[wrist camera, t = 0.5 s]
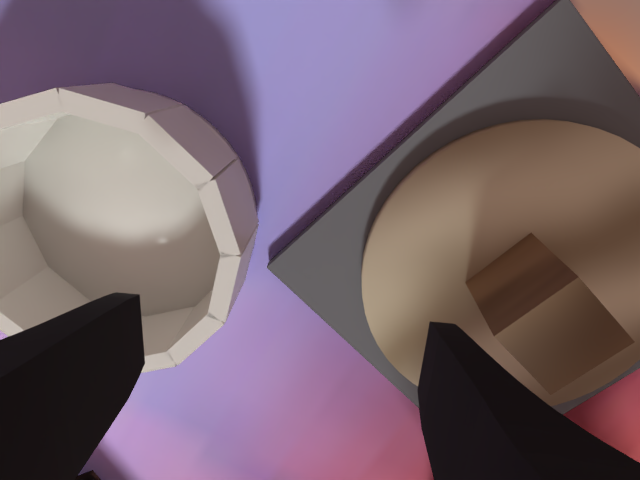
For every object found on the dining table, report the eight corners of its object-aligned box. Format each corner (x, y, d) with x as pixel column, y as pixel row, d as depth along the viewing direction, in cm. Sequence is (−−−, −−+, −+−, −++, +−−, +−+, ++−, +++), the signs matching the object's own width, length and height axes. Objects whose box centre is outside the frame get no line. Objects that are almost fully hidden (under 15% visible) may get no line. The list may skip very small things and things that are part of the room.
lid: (739, 283, 19) (859, 351, 15) (484, 443, 23) (517, 535, 18) (557, 40, 16) (636, 32, 12) (299, 268, 20) (285, 327, 16)
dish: (308, 216, 20) (298, 257, 16) (160, 353, 23) (118, 418, 19) (116, 26, 18) (44, 15, 13) (-22, 207, 21) (-116, 243, 16)
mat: (763, 278, 20) (775, 285, 19) (476, 455, 24) (480, 464, 23) (558, -3, 16) (566, -5, 16) (269, 261, 21) (266, 267, 20)
